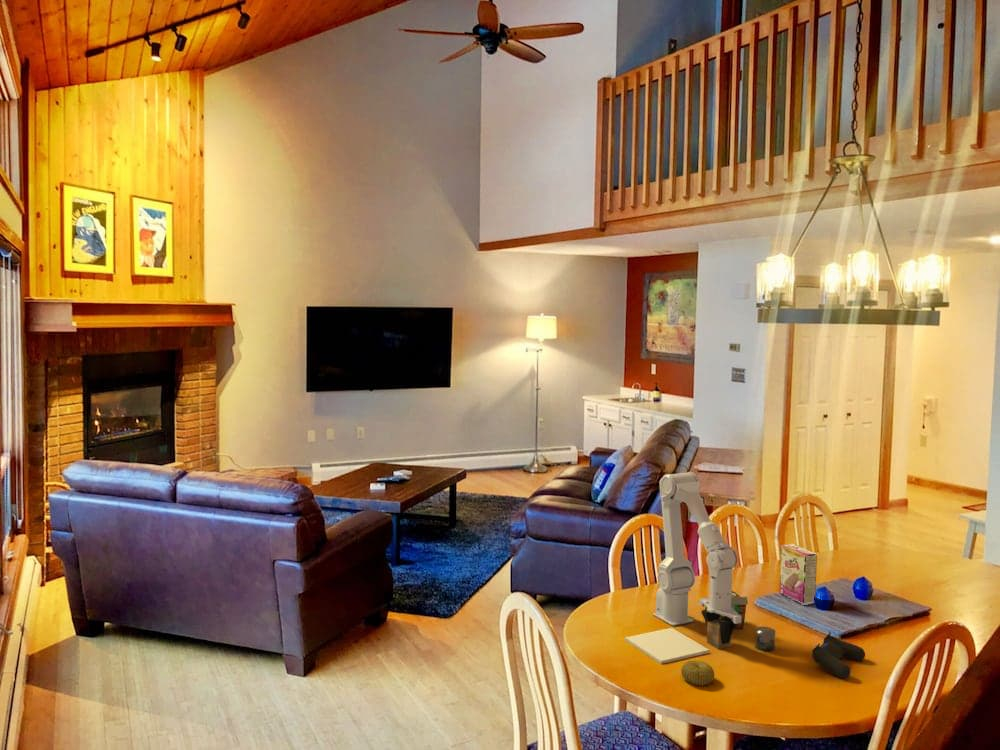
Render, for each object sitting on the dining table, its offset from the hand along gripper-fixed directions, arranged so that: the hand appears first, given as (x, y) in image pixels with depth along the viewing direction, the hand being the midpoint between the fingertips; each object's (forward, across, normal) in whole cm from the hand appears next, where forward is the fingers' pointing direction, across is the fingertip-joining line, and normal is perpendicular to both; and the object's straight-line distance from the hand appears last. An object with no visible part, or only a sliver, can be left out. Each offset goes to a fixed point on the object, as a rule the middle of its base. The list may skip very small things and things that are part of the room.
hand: (718, 639), depth 217 cm
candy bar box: (+2, -16, +46) cm, 49 cm away
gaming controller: (+2, +23, +20) cm, 30 cm away
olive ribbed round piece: (+2, +14, -19) cm, 24 cm away
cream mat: (+1, -5, -14) cm, 15 cm away
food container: (+2, -10, +11) cm, 15 cm away
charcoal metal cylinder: (+2, +7, +10) cm, 12 cm away
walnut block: (+1, 0, 0) cm, 1 cm away
